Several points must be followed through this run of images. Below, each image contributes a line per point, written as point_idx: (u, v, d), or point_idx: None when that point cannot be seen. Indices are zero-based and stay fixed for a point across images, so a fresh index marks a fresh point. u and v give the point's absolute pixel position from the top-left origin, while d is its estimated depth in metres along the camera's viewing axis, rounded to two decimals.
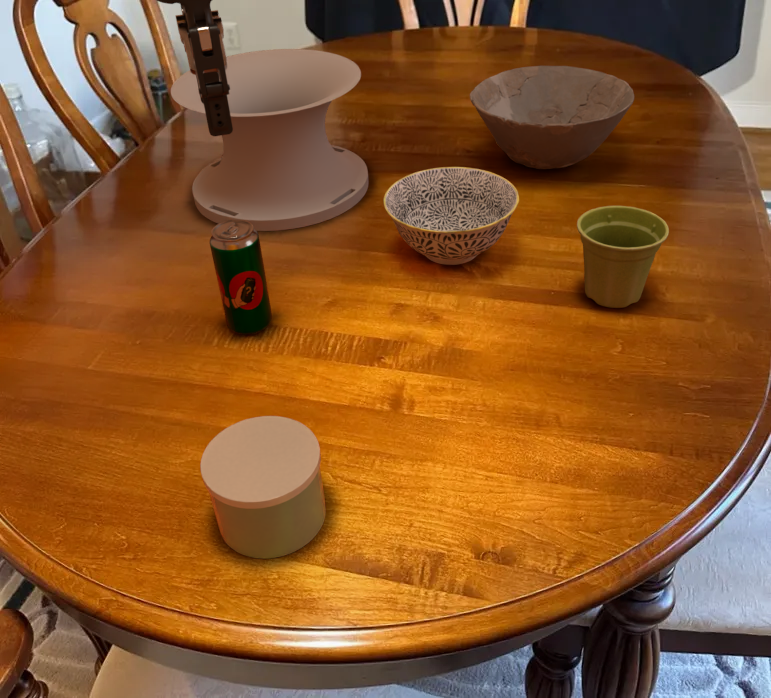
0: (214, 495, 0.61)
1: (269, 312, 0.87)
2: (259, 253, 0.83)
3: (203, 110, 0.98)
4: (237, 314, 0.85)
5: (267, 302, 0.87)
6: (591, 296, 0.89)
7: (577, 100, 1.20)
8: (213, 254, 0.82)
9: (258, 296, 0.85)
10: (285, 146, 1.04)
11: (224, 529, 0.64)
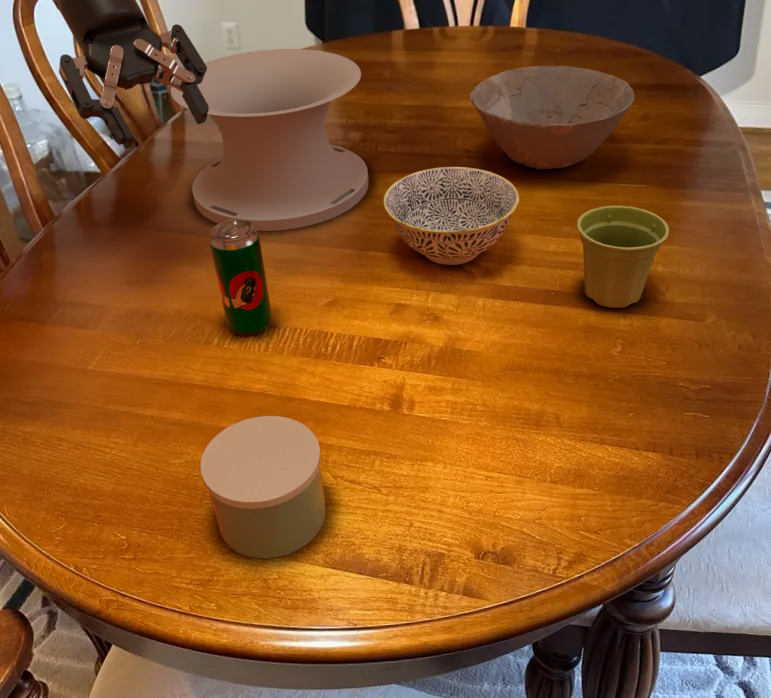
0: (214, 495, 0.61)
1: (269, 312, 0.87)
2: (259, 253, 0.83)
3: None
4: (237, 314, 0.85)
5: (267, 302, 0.87)
6: (591, 296, 0.89)
7: (577, 100, 1.20)
8: (213, 254, 0.82)
9: (258, 296, 0.85)
10: (285, 146, 1.04)
11: (224, 529, 0.64)
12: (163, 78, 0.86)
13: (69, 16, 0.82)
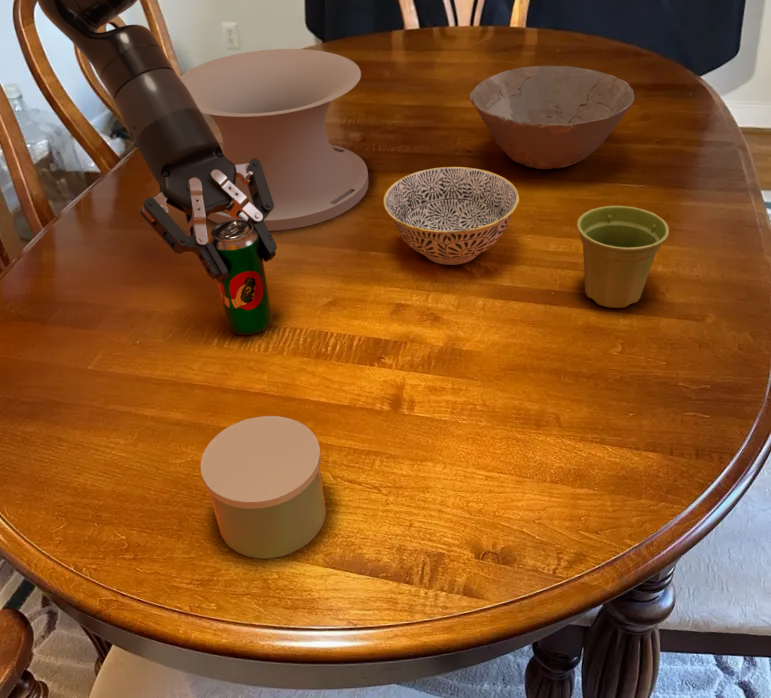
0: (214, 495, 0.61)
1: (269, 312, 0.87)
2: (259, 253, 0.83)
3: (203, 110, 0.98)
4: (237, 314, 0.85)
5: (267, 302, 0.87)
6: (591, 296, 0.89)
7: (577, 100, 1.20)
8: None
9: (258, 296, 0.85)
10: (285, 146, 1.04)
11: (224, 529, 0.64)
12: (231, 211, 0.84)
13: (146, 149, 0.80)
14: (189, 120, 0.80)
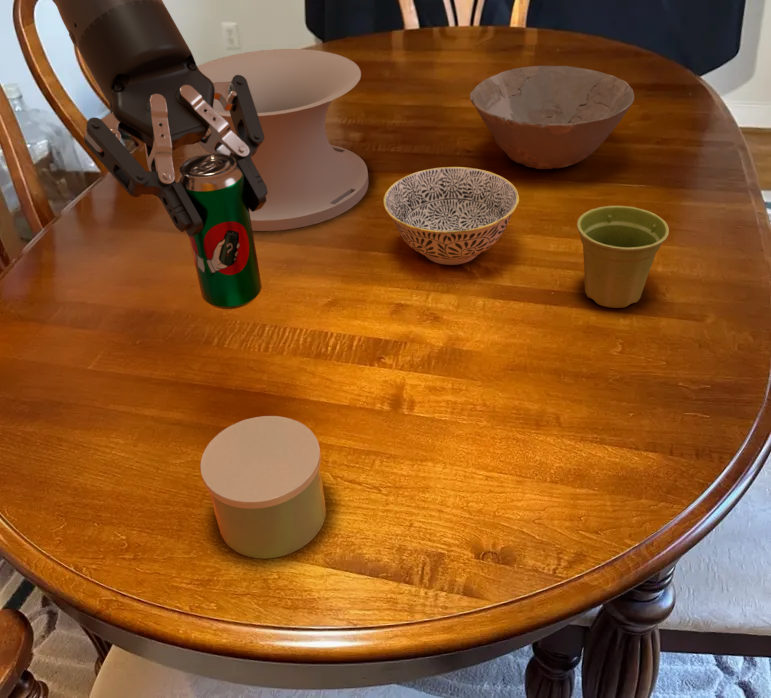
0: (214, 495, 0.61)
1: (257, 280, 0.67)
2: (244, 198, 0.62)
3: None
4: (214, 281, 0.64)
5: (255, 266, 0.66)
6: (591, 296, 0.89)
7: (577, 100, 1.20)
8: None
9: (242, 256, 0.64)
10: (285, 146, 1.04)
11: (224, 529, 0.64)
12: (208, 143, 0.64)
13: (91, 54, 0.59)
14: (150, 15, 0.59)
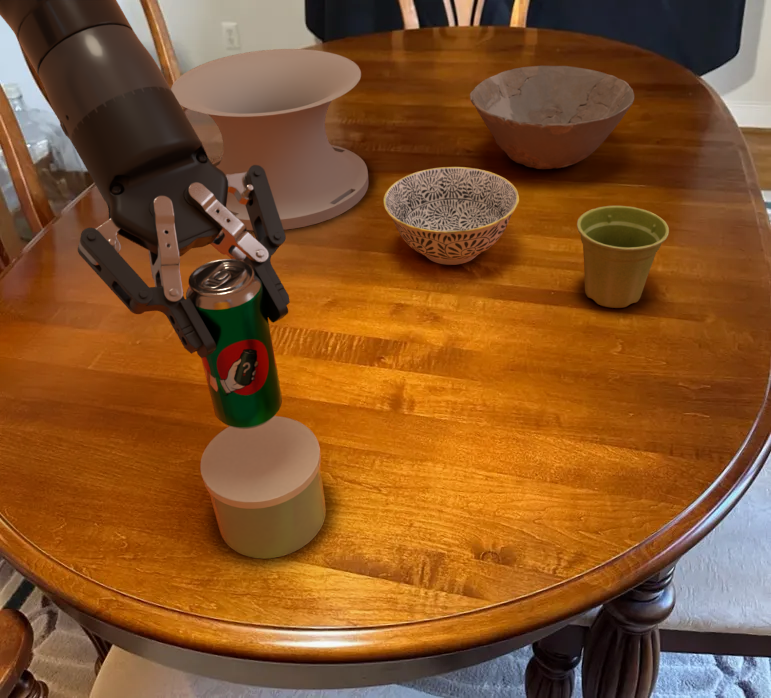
0: (214, 495, 0.61)
1: (278, 395, 0.58)
2: (263, 311, 0.54)
3: (203, 110, 0.98)
4: (229, 402, 0.56)
5: (275, 381, 0.57)
6: (591, 296, 0.89)
7: (577, 100, 1.20)
8: None
9: (261, 374, 0.56)
10: (285, 146, 1.04)
11: (224, 529, 0.64)
12: (221, 245, 0.55)
13: (86, 151, 0.51)
14: (153, 106, 0.51)
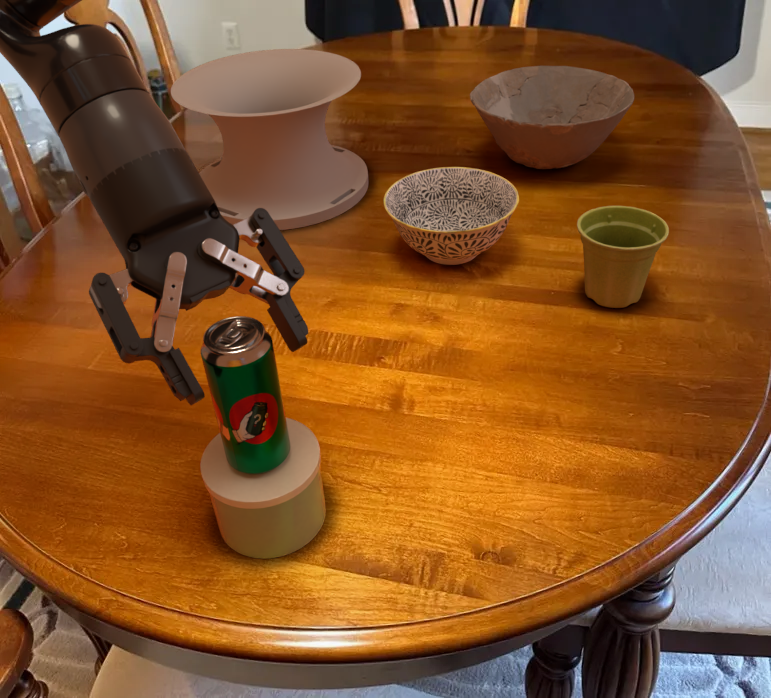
0: (214, 495, 0.61)
1: (286, 442, 0.61)
2: (273, 366, 0.57)
3: (203, 110, 0.98)
4: (241, 450, 0.59)
5: (284, 430, 0.60)
6: (591, 296, 0.89)
7: (577, 100, 1.20)
8: (206, 370, 0.56)
9: (271, 425, 0.59)
10: (285, 146, 1.04)
11: (224, 529, 0.64)
12: (240, 287, 0.58)
13: (105, 210, 0.54)
14: (169, 167, 0.54)
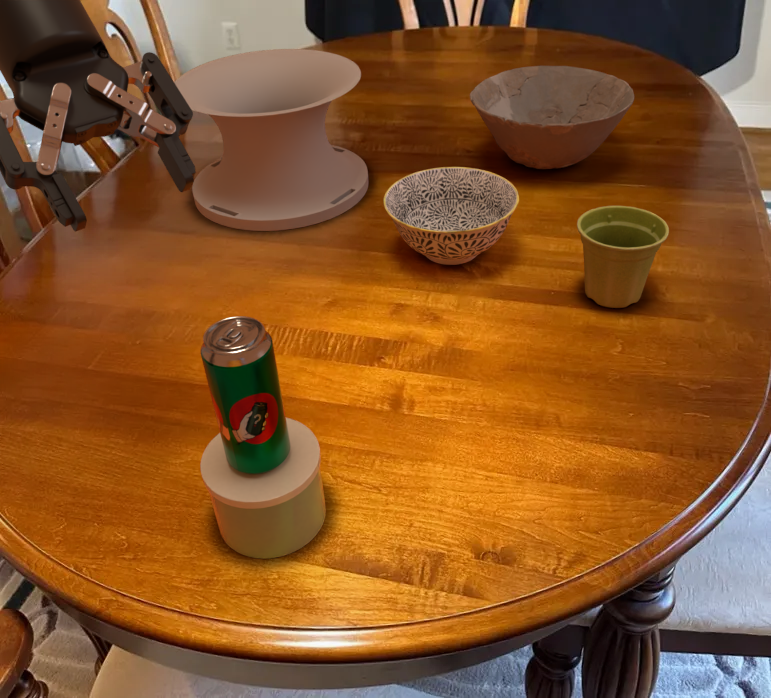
0: (214, 495, 0.61)
1: (286, 442, 0.61)
2: (273, 366, 0.57)
3: (203, 110, 0.98)
4: (241, 450, 0.59)
5: (284, 430, 0.60)
6: (591, 296, 0.89)
7: (577, 100, 1.20)
8: (206, 370, 0.56)
9: (271, 425, 0.59)
10: (285, 146, 1.04)
11: (224, 529, 0.64)
12: (130, 128, 0.61)
13: None
14: None
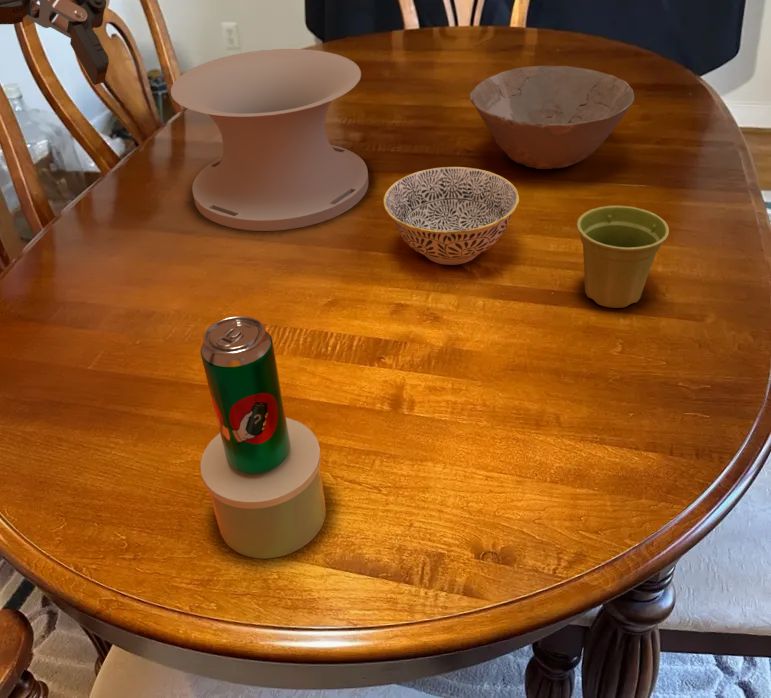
0: (214, 495, 0.61)
1: (286, 442, 0.61)
2: (273, 366, 0.57)
3: (203, 110, 0.98)
4: (241, 450, 0.59)
5: (284, 430, 0.60)
6: (591, 296, 0.89)
7: (577, 100, 1.20)
8: (206, 370, 0.56)
9: (271, 425, 0.59)
10: (285, 146, 1.04)
11: (224, 529, 0.64)
12: (40, 17, 0.58)
13: None
14: None
